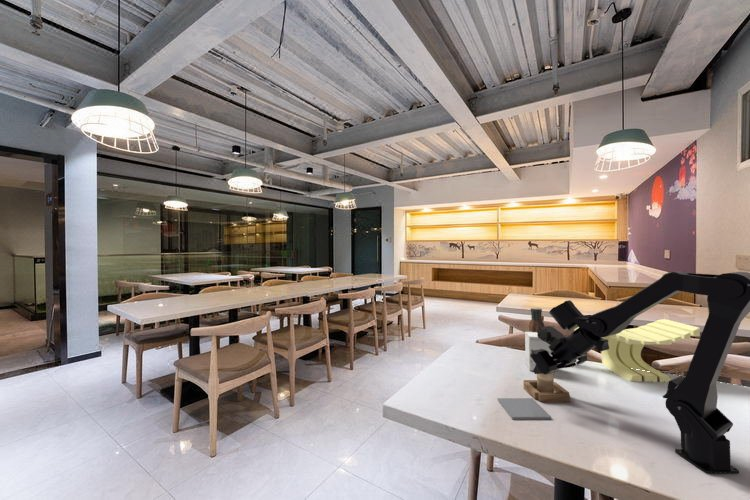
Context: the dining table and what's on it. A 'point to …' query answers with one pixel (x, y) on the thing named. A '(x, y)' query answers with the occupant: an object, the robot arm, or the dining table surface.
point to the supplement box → (533, 347)
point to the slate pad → (523, 408)
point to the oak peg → (545, 382)
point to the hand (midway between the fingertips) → (540, 370)
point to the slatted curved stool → (631, 342)
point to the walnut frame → (556, 396)
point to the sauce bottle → (536, 320)
